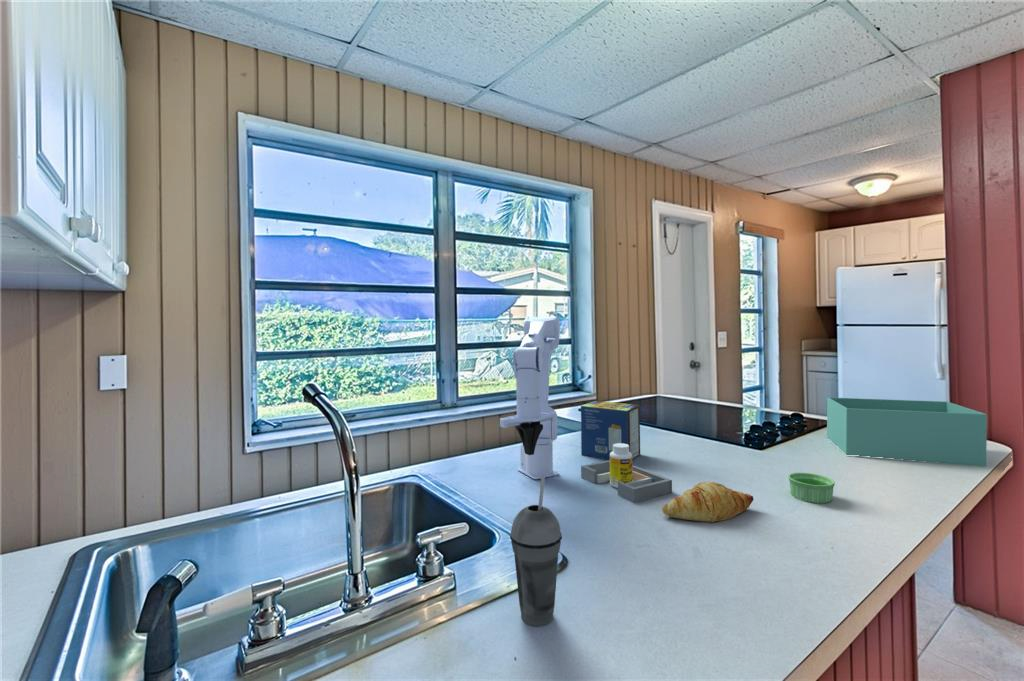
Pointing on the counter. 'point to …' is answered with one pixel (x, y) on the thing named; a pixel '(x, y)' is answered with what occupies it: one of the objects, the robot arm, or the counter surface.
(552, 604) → the beverage cup
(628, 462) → the supplement bottle
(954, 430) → the box
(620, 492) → the frame
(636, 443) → the protein box
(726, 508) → the croissant
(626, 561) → the counter surface
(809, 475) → the ramekin
